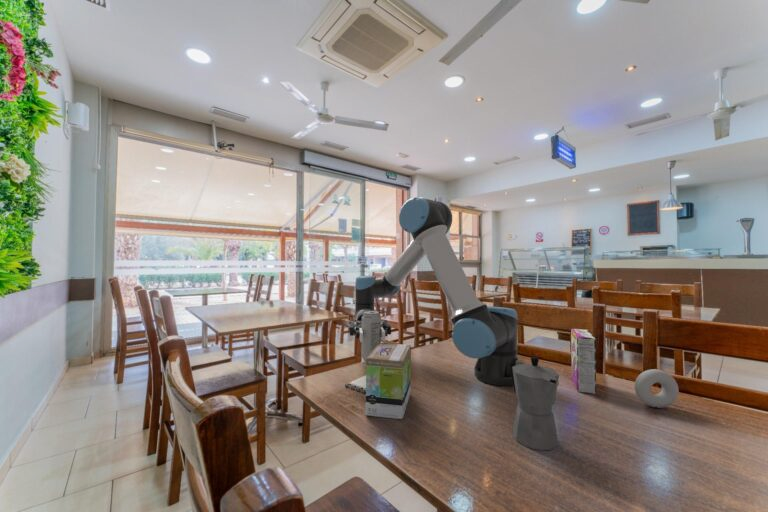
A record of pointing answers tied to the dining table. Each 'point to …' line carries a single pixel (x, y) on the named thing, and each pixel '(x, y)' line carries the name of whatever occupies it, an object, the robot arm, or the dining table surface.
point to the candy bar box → (583, 360)
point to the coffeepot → (534, 404)
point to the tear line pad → (358, 384)
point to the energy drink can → (370, 332)
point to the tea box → (388, 380)
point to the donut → (666, 393)
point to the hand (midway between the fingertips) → (372, 337)
